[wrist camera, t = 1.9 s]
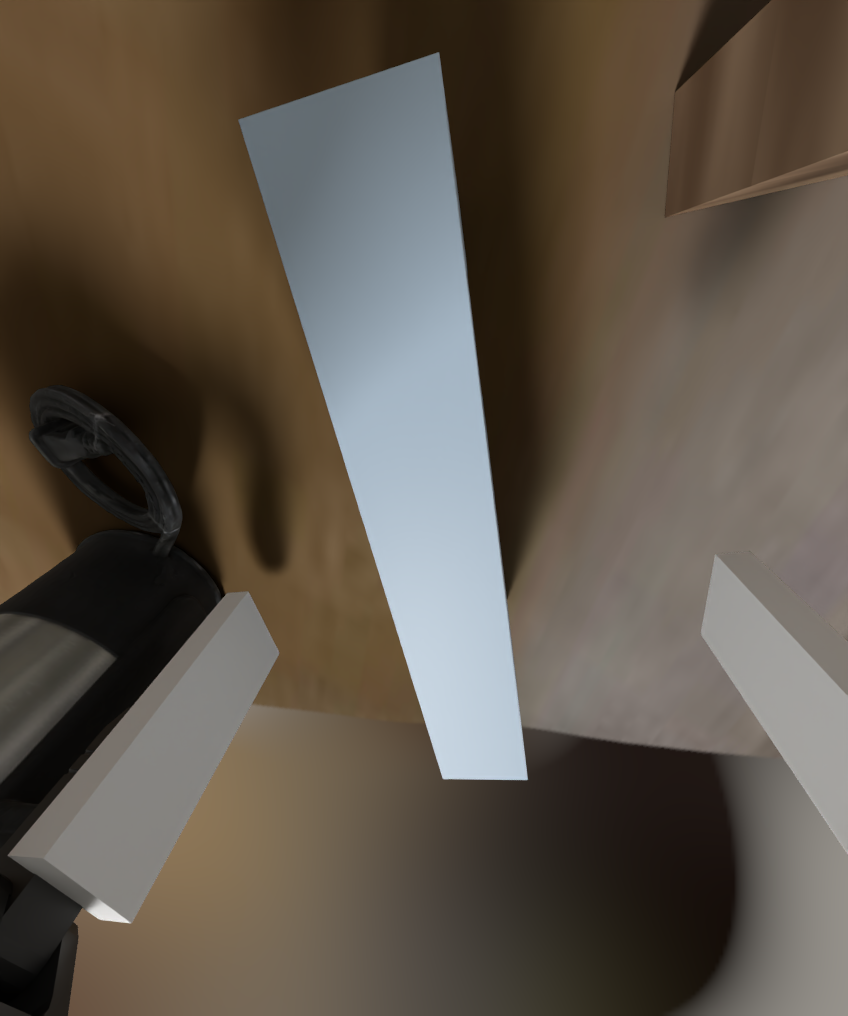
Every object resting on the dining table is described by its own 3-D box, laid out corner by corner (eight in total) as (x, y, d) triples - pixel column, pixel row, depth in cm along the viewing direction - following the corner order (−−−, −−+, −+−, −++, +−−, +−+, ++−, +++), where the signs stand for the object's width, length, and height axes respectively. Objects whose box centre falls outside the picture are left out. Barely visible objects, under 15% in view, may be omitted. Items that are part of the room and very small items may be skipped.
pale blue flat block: (372, 216, 13) (238, 119, 6) (458, 194, 13) (439, 52, 5) (452, 604, 22) (442, 779, 14) (506, 600, 21) (527, 780, 14)
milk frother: (150, 654, 27) (-136, 982, 14) (-55, 457, 21) (-924, 737, 8) (321, 607, 23) (137, 1003, 10) (135, 345, 17) (-999, 541, 4)
